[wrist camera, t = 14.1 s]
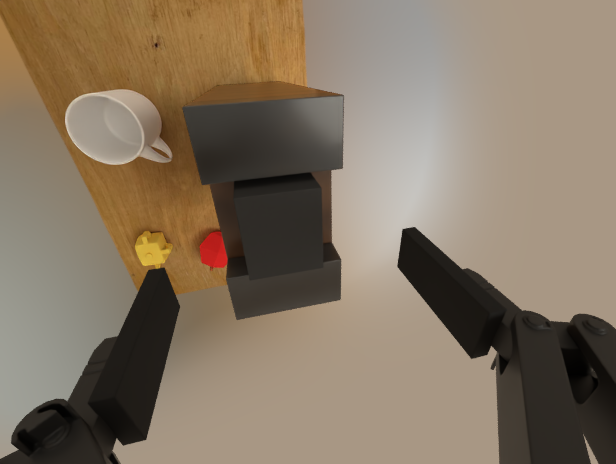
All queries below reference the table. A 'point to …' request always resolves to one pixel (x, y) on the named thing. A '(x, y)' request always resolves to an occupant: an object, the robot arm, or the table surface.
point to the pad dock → (268, 163)
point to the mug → (116, 127)
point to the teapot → (152, 248)
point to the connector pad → (280, 224)
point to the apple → (213, 251)
